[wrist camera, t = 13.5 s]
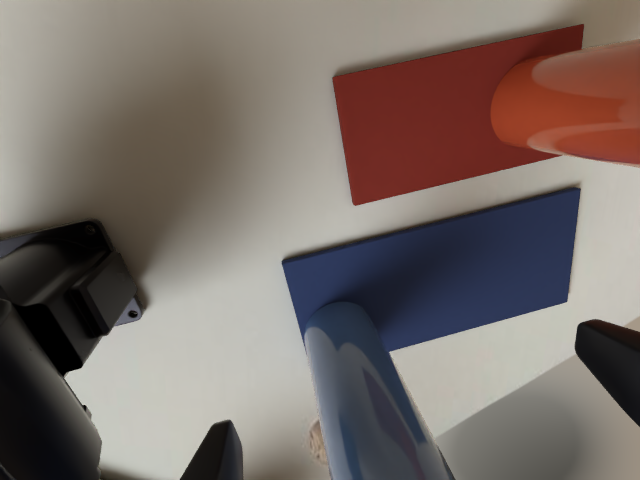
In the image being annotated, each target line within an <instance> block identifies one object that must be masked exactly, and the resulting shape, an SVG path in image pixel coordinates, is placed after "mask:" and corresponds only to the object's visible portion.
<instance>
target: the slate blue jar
mask: <svg viewBox="0 0 640 480" xmlns="http://www.w3.org/2000/svg"><path fill="white" fill-rule="evenodd" d="M304 341H305V346H306V351H307V357H308V362H309V367H310V373H311V378H312V383H313V389H314V394H315V399H316V405H317V410H318V415H319V421H320V426H321V431H322V437H323V442H324V447H325V453H326V458H327V463H328V469H329V474H330V479H331V480H455V478H454V476H453V474H452V472H451V470H450V468H449V467H448V465H447V463H446V461H445V459H444V457H443V455H442V453H441V451H440V449H439V447H438V446H437V443H436V442H435V440H434V438H433V436H432V434H431V432H430V430H429V428H428V426H427V424H426V422H425V420H424V418H423V417H422V415H421V413H420V411H419V409H418V407H417V405H416V403H415V401H414V399H413V397H412V395H411V393H410V392H409V390H408V388H407V386H406V384H405V382H404V380H403V378H402V376H401V374H400V372H399V370H398V369H397V367H396V365H395V363H394V361H393V359H392V357H391V355H390V353H389V351H388V349H387V347H386V345H385V344H384V342H383V340H382V338H381V336H380V334H379V332H378V330H377V328H376V326H375V324H374V322H373V321H372V319H371V317H370V315H369V313H368V312H367V311H366V310H365V309H364V308H363V307H361V306H359V305H357V304H355V303H351V302H335V303H331V304H328V305H326V306H323V307H322V308H320V309H319V310H317V311H316V312H315V313H314V314H313V315H312V316H311V317H310V319H309V320H308V322H307V324H306V326H305V330H304Z"/></svg>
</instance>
